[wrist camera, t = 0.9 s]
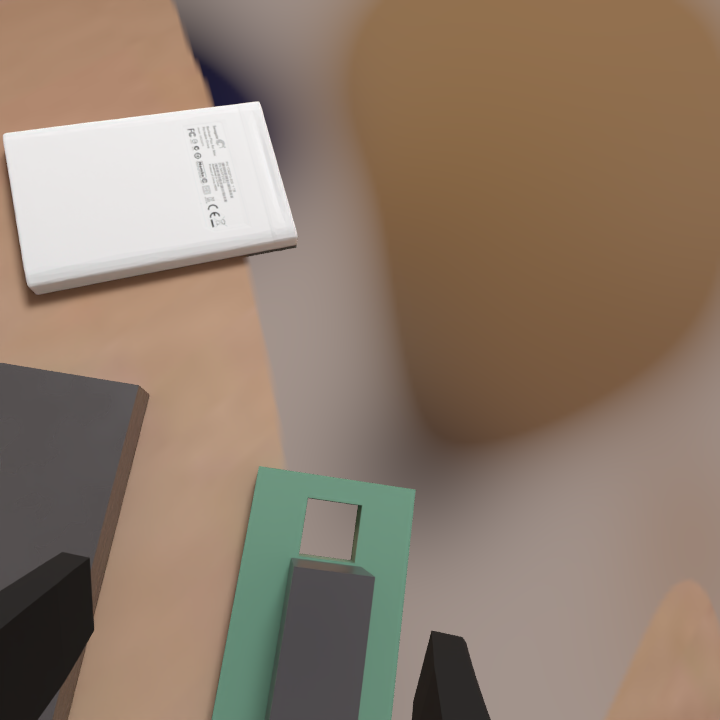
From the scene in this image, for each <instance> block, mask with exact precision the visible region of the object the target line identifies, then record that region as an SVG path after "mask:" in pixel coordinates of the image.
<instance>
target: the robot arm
mask: <svg viewBox="0 0 720 720" xmlns="http://www.w3.org/2000/svg"><path fill="white" fill-rule="evenodd" d="M93 631H94V619H93V602H92V586H91V569H90V558H89V557H84V556H79V555H75V554H70V553H65V552H61V553H60V554H58V555H57V556H55V557H53V558H52V559H50V560H48V561H47V562H45V563H44V564H42V565H40V566H39V567H37V568H36V569H34V570H32V571H31V572H29V573H28V574H26V575H25V576H23V577H21V578H20V579H18V580H17V581H15V582H13V583H12V584H10V585H9V586H7V587H5V588H4V589H2V590H1V591H0V720H38V719H39V717H40V716H41V715H42V713H43V712H44V710H45V709H46V708H47V706H48V705H49V703H50V702H51V700H52V699H53V698H54V696H55V695H56V693H57V692H58V691H59V689H60V688H61V686H62V685H63V683H64V682H65V680H66V679H67V677H68V675H69V674H70V672H71V670H72V669H73V667H74V665H75V663H76V662H77V660H78V658H79V657H80V655H81V653H82V651H83V649H84V647H85V646H86V644H87V642H88V640H89V638H90V637H91V635H92V633H93ZM412 720H491V719H490V717H489V714H488V711H487V709H486V705H485V703H484V700H483V697H482V694H481V691H480V688H479V685H478V682H477V679H476V676H475V672H474V669H473V666H472V662H471V659H470V655H469V652H468V648H467V644H466V642H465V640H464V639H463V638H462V637H459V636H455V635H450V634H445V633H441V632H436V631H431V635H430V639H429V643H428V646H427V651H426V654H425V658H424V662H423V666H422V670H421V674H420V678H419V681H418V686H417V689H416V693H415V697H414V701H413V713H412Z"/></svg>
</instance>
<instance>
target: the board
mask: <svg viewBox="0 0 720 720" xmlns="http://www.w3.org/2000/svg"><path fill="white" fill-rule="evenodd" d="M308 498H312V499H319V500H325V501H332V502H339V503H346V504H353V505H358V510H357V517H356V525H355V532H354V540H353V547H352V555H351V560H344V559H336V558H329V557H321V556H314V555H306V554H299V550H300V544H301V538H302V532H303V525H304V519H305V513H306V507H307V500H308ZM414 499H415V490H414V489H407V488H401V487H393V486H387V485H381V484H373V483H367V482H361V481H353V480H347V479H340V478H334V477H327V476H320V475H314V474H307V473H300V472H294V471H287V470H281V469H274V468H267V467H261V466H259V470H258V475H257V480H256V486H255V491H254V497H253V502H252V507H251V513H250V518H249V523H248V529H247V534H246V539H245V545H244V550H243V555H242V561H241V566H240V571H239V577H238V582H237V587H236V593H235V598H234V603H233V609H232V614H231V620H230V625H229V630H228V636H227V641H226V646H225V652H224V657H223V662H222V668H221V673H220V678H219V684H218V689H217V694H216V700H215V705H214V710H213V716H212V720H391V717H392V707H393V698H394V688H395V679H396V670H397V660H398V650H399V641H400V632H401V622H402V612H403V603H404V594H405V584H406V575H407V565H408V556H409V547H410V537H411V527H412V518H413V509H414Z"/></svg>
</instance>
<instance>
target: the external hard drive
mask: <svg viewBox="0 0 720 720" xmlns="http://www.w3.org/2000/svg"><path fill="white" fill-rule="evenodd" d="M3 142H4V149H5V155H6V161H7V167H8V174H9V179H10V185H11V192H12V198H13V204H14V210H15V215H16V223H17V229H18V235H19V242H20V247H21V254H22V261H23V266H24V271H25V276H26V281H27V286H28V287H29V288H30V289H31V290H32V291H33V292H34V293H35V294H36V295H40V294H45V293H50V292H55V291H60V290H65V289H71V288H76V287H81V286H86V285H91V284H96V283H101V282H107V281H112V280H117V279H122V278H127V277H133V276H138V275H143V274H148V273H154V272H158V271H163V270H169V269H174V268H179V267H185V266H190V265H195V264H200V263H205V262H211V261H216V260H221V259H226V258H232V257H237V256H242V255H247V257H249V256H254V255H259V254H264V253H270V252H274V251H282V250H286V249H292V248H296V247H297V239H298V237H297V231H296V227H295V224H294V220H293V217H292V214H291V210H290V207H289V203H288V200H287V197H286V193H285V189H284V186H283V182H282V179H281V176H280V172H279V169H278V165H277V161H276V158H275V154H274V151H273V148H272V144H271V140H270V136H269V133H268V130H267V126H266V123H265V119H264V115H263V112H262V108H261V105H260V103H259V102H251V103H242V104H236V105H228V106H219V107H211V108H203V109H195V110H185V111H178V112H170V113H162V114H154V115H146V116H138V117H130V118H122V119H114V120H106V121H98V122H89V123H80V124H73V125H66V126H58V127H50V128H42V129H35V130H27V131H20V132H11V133H5V134H3Z"/></svg>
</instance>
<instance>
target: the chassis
mask: <svg viewBox="0 0 720 720" xmlns="http://www.w3.org/2000/svg"><path fill="white" fill-rule="evenodd" d="M148 398H149V394H148V393H147V392H146V391H145V390H144V389H142V388H141V387H140V386H139V385H133V384H127V383H121V382H115V381H109V380H103V379H97V378H90V377H84V376H78V375H72V374H66V373H60V372H54V371H47V370H41V369H35V368H29V367H23V366H17V365H11V364H5V363H0V591H1V590H2V589H4V588H5V587H7V586H9V585H10V584H12V583H13V582H15V581H17V580H18V579H20V578H21V577H23V576H25V575H26V574H28V573H29V572H31V571H32V570H34V569H36V568H37V567H39V566H40V565H42V564H44V563H45V562H47V561H48V560H50V559H52V558H53V557H55V556H57V555H58V554H60V553H61V552H65V553H70V554H75V555H79V556H84V557H89V558H90V569H91V586H92V602H93V616H94V612H95V608H96V604H97V600H98V596H99V592H100V588H101V585H102V581H103V577H104V573H105V569H106V565H107V561H108V557H109V553H110V549H111V545H112V541H113V537H114V533H115V529H116V525H117V521H118V517H119V513H120V509H121V505H122V501H123V497H124V493H125V489H126V485H127V482H128V478H129V474H130V470H131V466H132V462H133V458H134V454H135V450H136V446H137V442H138V438H139V434H140V430H141V426H142V422H143V418H144V414H145V410H146V406H147V402H148ZM85 648H86V646H85V647H84V649H83V651H82V653H81V655H80V657H79V658H78V660H77V662H76V663H75V665H74V667H73V669H72V670H71V672H70V674H69V675H68V677H67V679H66V680H65V682H64V683H63V685H62V686H61V688H60V689H59V691H58V692H57V693H56V695H55V696H54V698H53V699H52V700H51V702H50V703H49V705H48V706H47V708H46V709H45V710H44V712H43V713H42V715H41V716H40V717H39V719H38V720H67V719H68V715H69V711H70V707H71V703H72V699H73V695H74V691H75V688H76V684H77V680H78V676H79V672H80V668H81V664H82V660H83V656H84V652H85Z"/></svg>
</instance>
